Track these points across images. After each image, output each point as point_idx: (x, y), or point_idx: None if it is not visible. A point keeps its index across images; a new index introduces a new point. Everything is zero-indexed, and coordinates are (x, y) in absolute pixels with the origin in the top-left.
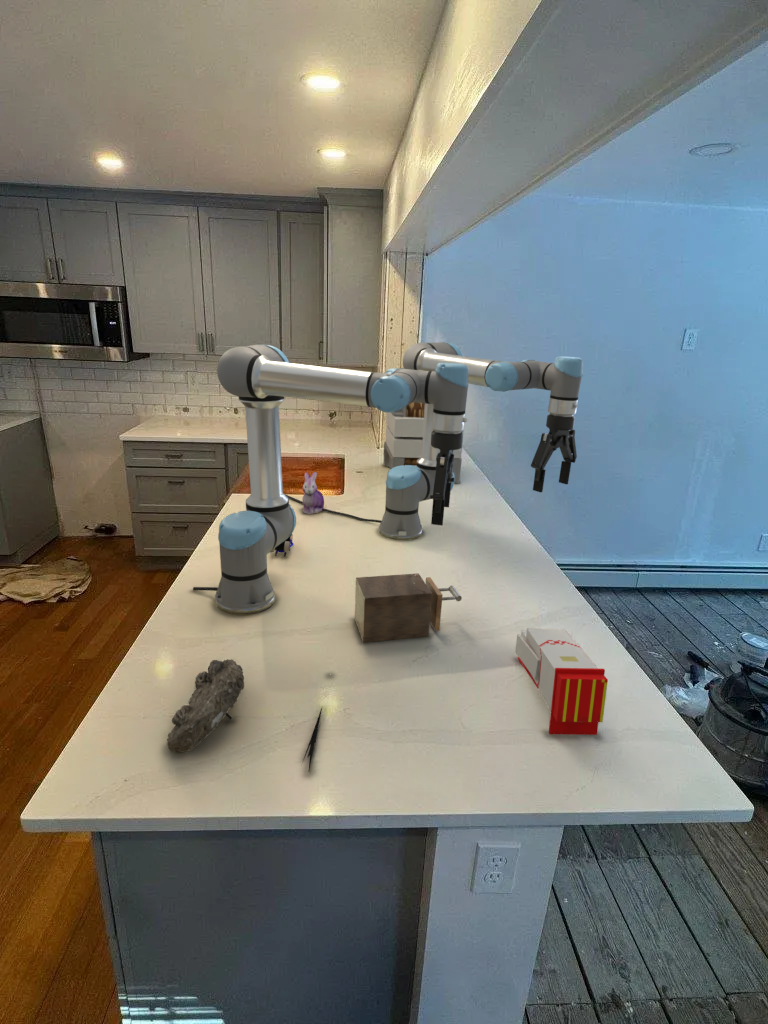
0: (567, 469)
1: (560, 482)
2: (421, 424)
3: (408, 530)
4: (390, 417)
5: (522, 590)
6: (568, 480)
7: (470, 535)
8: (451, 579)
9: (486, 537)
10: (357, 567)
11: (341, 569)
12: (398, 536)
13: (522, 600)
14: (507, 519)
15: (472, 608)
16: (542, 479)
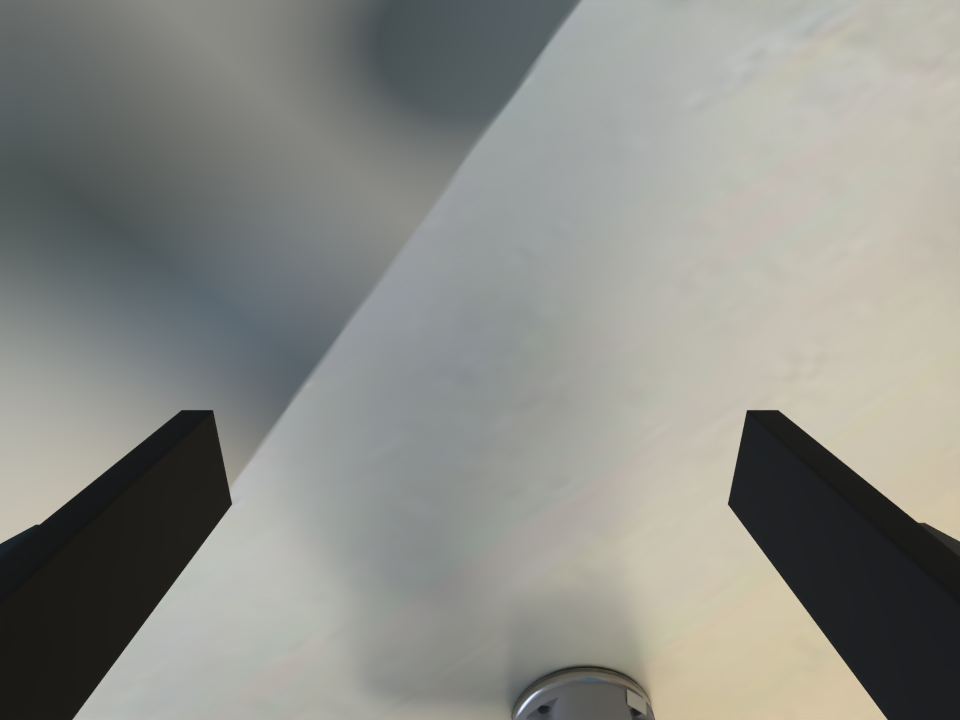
0: (82, 559)
1: (227, 485)
2: None
3: (619, 705)
4: None
5: (663, 213)
6: (156, 431)
7: (406, 596)
8: None
9: (370, 558)
10: None
11: None
12: (642, 697)
13: (741, 162)
14: (160, 612)
15: (922, 244)
16: (897, 513)
